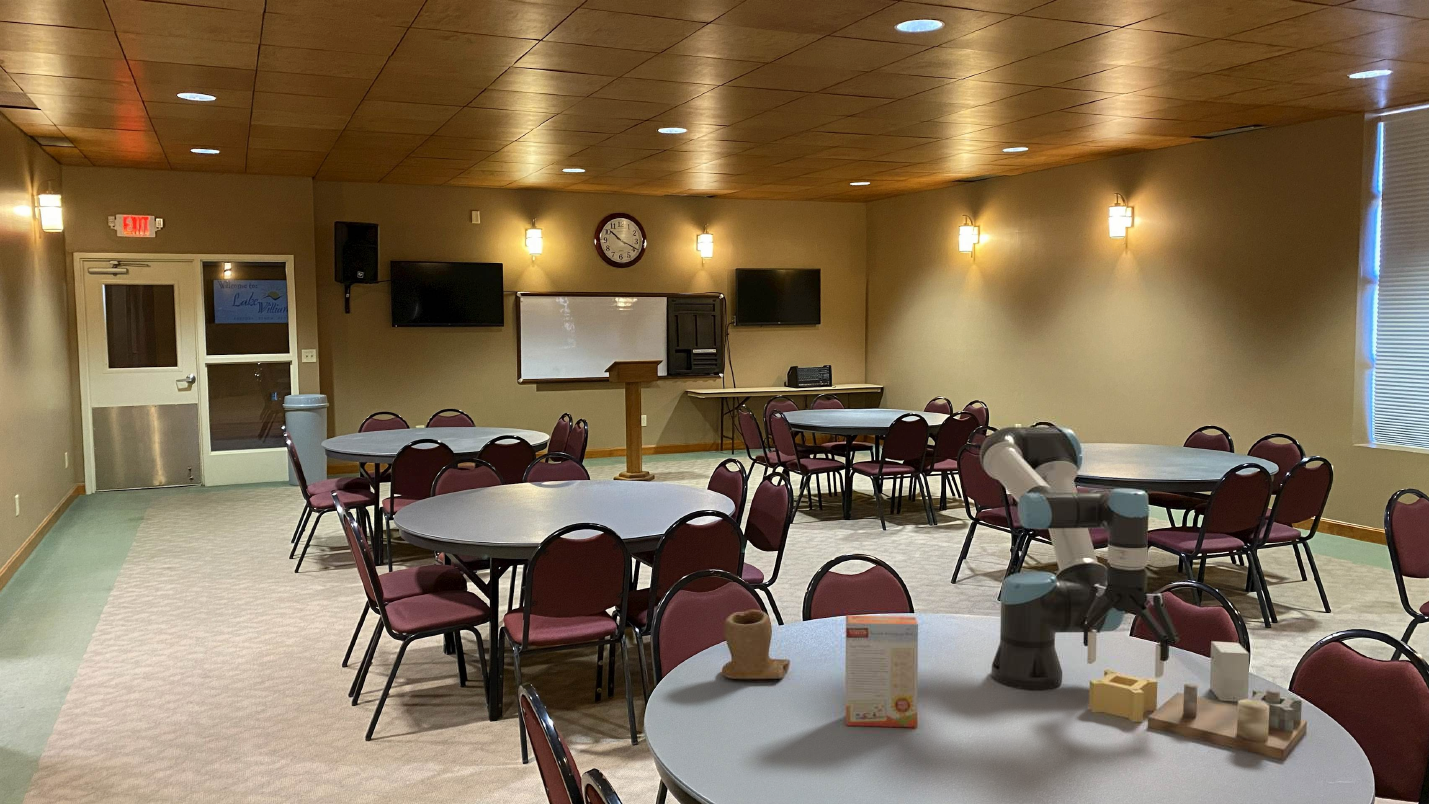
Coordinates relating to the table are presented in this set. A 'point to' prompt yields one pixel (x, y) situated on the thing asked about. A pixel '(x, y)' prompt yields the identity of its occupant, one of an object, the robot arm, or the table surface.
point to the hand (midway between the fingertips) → (1124, 669)
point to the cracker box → (881, 671)
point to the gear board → (1235, 721)
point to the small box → (1229, 671)
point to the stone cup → (751, 647)
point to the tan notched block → (1123, 695)
